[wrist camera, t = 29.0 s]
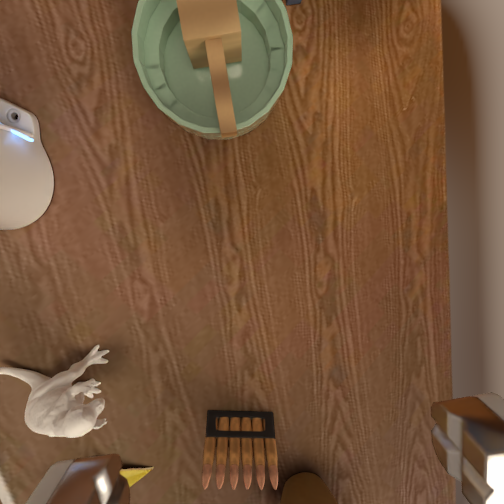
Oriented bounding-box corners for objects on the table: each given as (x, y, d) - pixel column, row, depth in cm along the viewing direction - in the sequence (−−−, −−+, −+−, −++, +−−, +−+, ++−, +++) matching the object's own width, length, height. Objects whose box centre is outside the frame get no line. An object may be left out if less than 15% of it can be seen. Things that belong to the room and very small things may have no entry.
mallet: (254, 140, 37) (256, 126, 31) (207, 148, 37) (200, 136, 31) (235, 21, 36) (233, -18, 30) (186, 29, 36) (174, -8, 30)
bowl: (121, 82, 37) (101, 64, 32) (199, -47, 34) (191, -90, 29) (232, 167, 40) (231, 164, 34) (312, 53, 37) (324, 31, 32)
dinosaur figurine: (136, 341, 45) (87, 414, 30) (141, 396, 47) (97, 489, 32) (0, 344, 44) (-117, 421, 30) (11, 399, 46) (-92, 497, 32)
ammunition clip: (273, 411, 48) (283, 483, 37) (272, 421, 49) (282, 495, 37) (207, 410, 48) (197, 482, 36) (207, 419, 48) (197, 494, 37)
